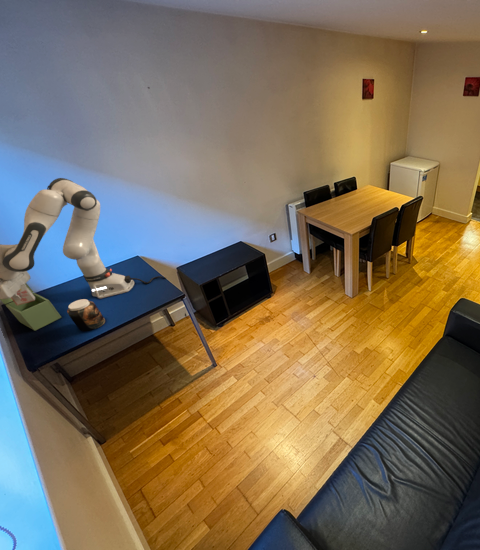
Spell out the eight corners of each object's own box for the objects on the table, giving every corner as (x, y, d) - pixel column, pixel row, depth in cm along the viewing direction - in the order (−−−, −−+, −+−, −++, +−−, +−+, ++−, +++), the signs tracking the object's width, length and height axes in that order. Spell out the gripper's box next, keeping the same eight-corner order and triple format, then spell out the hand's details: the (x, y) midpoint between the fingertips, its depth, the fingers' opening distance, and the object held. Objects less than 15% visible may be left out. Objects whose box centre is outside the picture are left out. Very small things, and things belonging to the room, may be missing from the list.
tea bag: (17, 302, 157) (5, 287, 151) (35, 297, 161) (23, 282, 155) (17, 305, 155) (4, 290, 149) (34, 300, 158) (23, 285, 153)
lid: (12, 266, 158) (9, 266, 160) (-19, 278, 149) (-23, 277, 151) (33, 292, 166) (30, 291, 168) (4, 304, 157) (1, 303, 159)
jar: (75, 334, 157) (59, 313, 149) (83, 320, 166) (68, 300, 158) (102, 328, 161) (88, 307, 153) (108, 315, 170) (95, 295, 162)
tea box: (61, 317, 168) (48, 299, 161) (34, 330, 159) (19, 312, 152) (47, 309, 173) (33, 292, 166) (20, 322, 164) (5, 304, 157)
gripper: (1, 283, 141) (19, 306, 149) (24, 263, 157) (39, 284, 165) (-17, 286, 139) (2, 308, 147) (9, 265, 155) (25, 286, 163)
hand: (22, 295), depth 156 cm, fingers closed on tea bag, 4 cm apart
